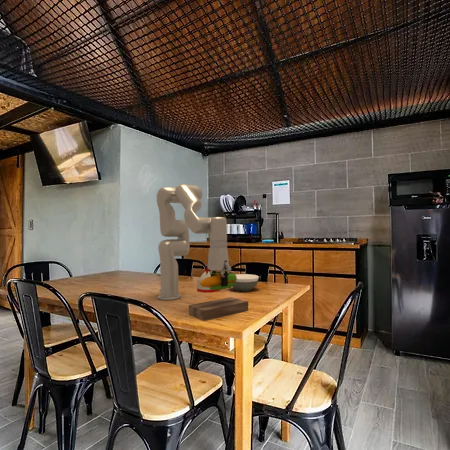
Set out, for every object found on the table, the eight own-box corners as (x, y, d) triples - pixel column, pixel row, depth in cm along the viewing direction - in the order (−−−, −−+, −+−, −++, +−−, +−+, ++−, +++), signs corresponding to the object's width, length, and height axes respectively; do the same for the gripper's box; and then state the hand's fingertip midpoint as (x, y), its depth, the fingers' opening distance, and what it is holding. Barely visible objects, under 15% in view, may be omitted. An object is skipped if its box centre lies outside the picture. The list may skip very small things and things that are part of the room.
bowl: (234, 286, 196) (234, 273, 196) (262, 288, 189) (262, 274, 189) (223, 291, 179) (223, 277, 179) (254, 293, 172) (254, 279, 172)
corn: (240, 269, 137) (205, 274, 125) (241, 286, 137) (206, 293, 124) (230, 269, 143) (195, 273, 130) (230, 285, 143) (195, 291, 130)
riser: (188, 314, 131) (188, 305, 131) (231, 305, 146) (231, 297, 146) (204, 320, 121) (204, 310, 121) (248, 310, 136) (248, 301, 136)
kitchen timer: (222, 288, 189) (222, 264, 189) (216, 293, 175) (216, 267, 175) (201, 287, 192) (201, 264, 192) (193, 292, 179) (193, 266, 179)
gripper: (200, 244, 139) (201, 283, 138) (223, 245, 125) (224, 288, 124) (213, 244, 143) (214, 281, 143) (237, 245, 130) (238, 286, 129)
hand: (219, 284), depth 134 cm, fingers closed on corn, 7 cm apart
